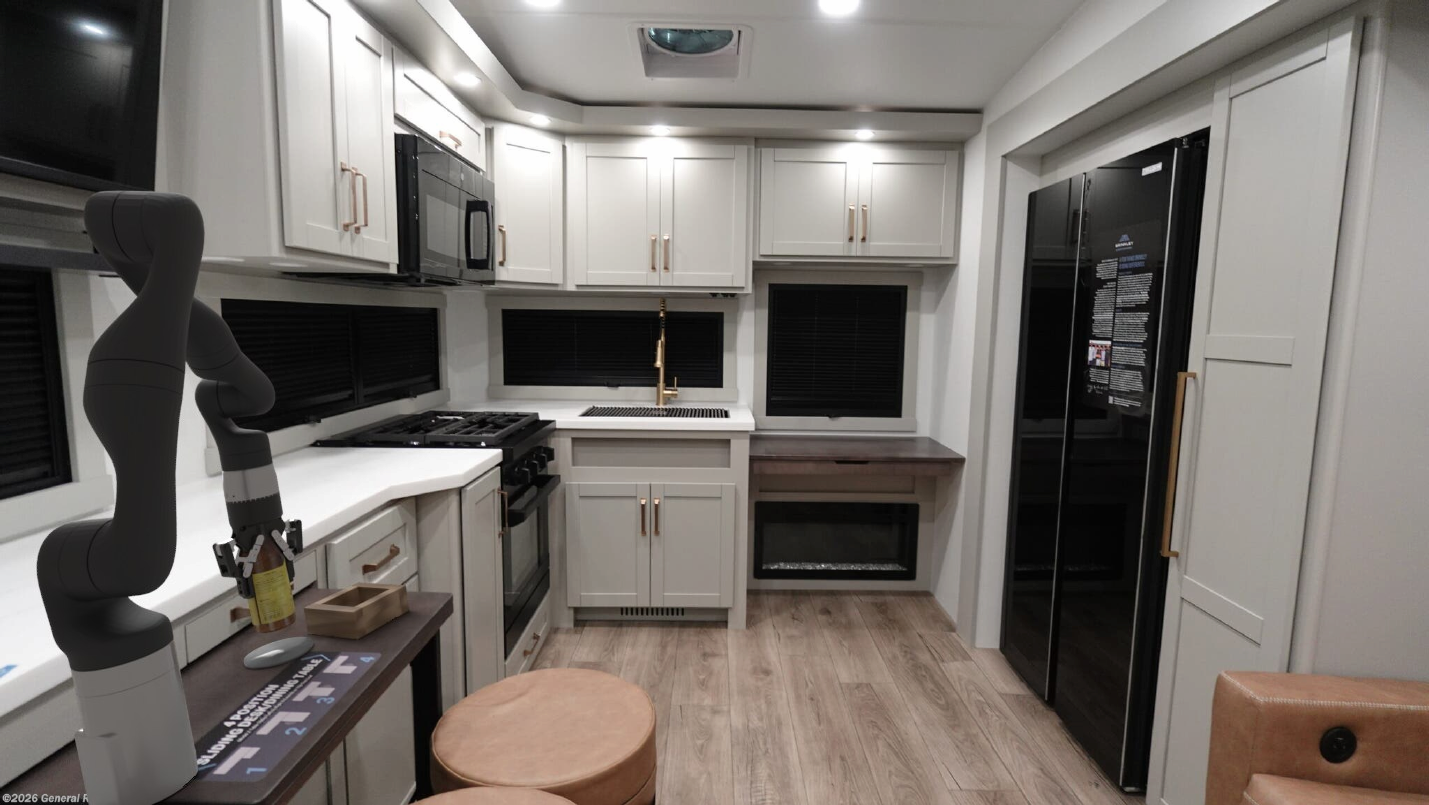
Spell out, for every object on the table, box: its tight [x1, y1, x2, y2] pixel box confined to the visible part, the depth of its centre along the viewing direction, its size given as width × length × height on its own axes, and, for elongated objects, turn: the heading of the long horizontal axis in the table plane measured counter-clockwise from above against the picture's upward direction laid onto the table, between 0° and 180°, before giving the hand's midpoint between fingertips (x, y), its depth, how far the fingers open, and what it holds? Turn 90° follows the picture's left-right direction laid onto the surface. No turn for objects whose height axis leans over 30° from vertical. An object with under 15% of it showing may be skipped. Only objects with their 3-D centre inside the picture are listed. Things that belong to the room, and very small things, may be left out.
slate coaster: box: [243, 636, 314, 670], centre depth 115 cm, size 10×10×1 cm
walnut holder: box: [303, 582, 410, 640], centre depth 125 cm, size 12×12×5 cm
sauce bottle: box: [241, 523, 297, 634], centre depth 113 cm, size 7×6×20 cm
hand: (268, 589), depth 113 cm, fingers closed on sauce bottle, 6 cm apart
